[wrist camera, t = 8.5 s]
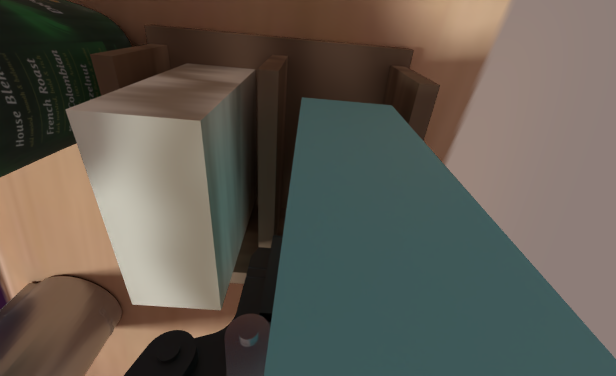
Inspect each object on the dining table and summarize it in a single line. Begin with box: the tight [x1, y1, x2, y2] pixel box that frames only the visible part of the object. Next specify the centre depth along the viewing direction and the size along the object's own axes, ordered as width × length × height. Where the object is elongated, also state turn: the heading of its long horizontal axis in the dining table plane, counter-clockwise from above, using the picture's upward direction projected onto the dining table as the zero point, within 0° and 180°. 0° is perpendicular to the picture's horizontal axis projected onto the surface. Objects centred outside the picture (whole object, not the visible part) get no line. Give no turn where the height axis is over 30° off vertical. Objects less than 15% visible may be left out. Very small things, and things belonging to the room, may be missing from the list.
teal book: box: [264, 97, 616, 376], centre depth 11 cm, size 4×10×14 cm, turn 175°
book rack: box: [65, 25, 440, 310], centre depth 18 cm, size 17×14×12 cm
